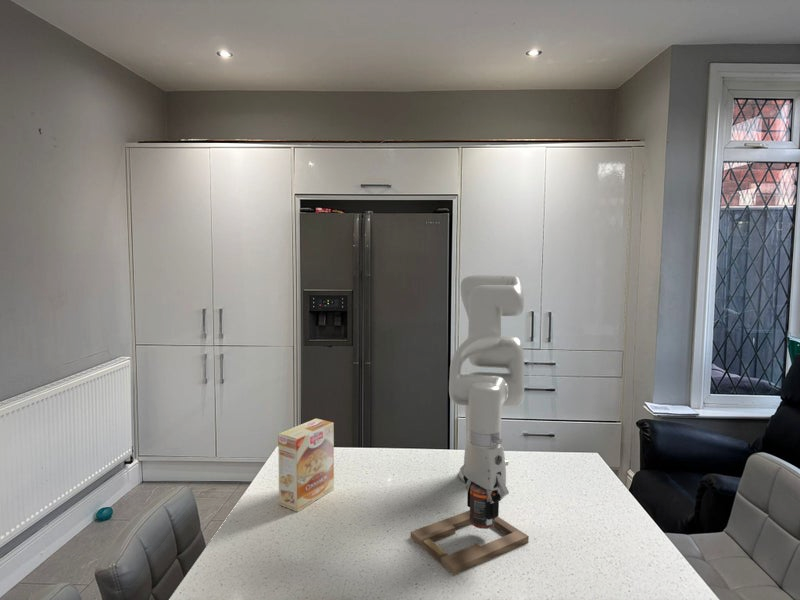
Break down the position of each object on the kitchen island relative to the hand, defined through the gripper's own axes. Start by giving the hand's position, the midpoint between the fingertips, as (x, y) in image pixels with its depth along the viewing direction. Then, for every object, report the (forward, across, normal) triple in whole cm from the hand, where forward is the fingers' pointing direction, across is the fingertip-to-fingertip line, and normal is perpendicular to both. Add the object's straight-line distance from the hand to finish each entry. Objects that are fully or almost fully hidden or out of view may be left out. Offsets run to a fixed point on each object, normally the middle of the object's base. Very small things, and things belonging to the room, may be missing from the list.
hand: (482, 510), depth 116 cm
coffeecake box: (+6, +39, +28) cm, 49 cm away
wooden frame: (+6, 0, +4) cm, 7 cm away
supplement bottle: (+3, 0, 0) cm, 3 cm away
